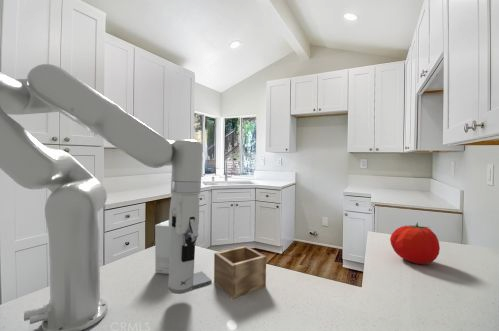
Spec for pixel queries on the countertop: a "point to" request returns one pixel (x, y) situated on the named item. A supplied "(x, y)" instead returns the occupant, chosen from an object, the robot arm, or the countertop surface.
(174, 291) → the travel mug
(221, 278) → the open wooden box
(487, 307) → the countertop surface
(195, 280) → the slate coaster
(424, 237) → the tomato
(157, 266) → the skincare box
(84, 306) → the robot arm
